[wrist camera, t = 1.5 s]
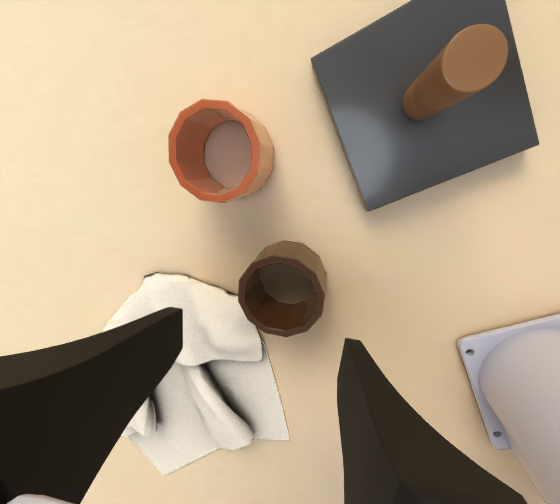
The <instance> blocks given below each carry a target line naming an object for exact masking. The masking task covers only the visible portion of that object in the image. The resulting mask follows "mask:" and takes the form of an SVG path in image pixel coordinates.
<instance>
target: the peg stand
mask: <svg viewBox="0 0 560 504" xmlns="http://www.w3.org/2000/svg"><path fill="white" fill-rule="evenodd" d="M311 63H312V67H313V70H314V73H315V75H316V78H317V81H318V84H319V86H320V89H321V92H322V94H323V97H324V100H325V102H326V105H327V108H328V110H329V113H330V116H331V118H332V121H333V124H334V126H335V129H336V132H337V134H338V137H339V140H340V142H341V145H342V148H343V151H344V153H345V156H346V159H347V161H348V164H349V167H350V169H351V172H352V175H353V177H354V180H355V183H356V185H357V188H358V191H359V193H360V196H361V199H362V201H363V204H364V207H365V209H366V210H367V211H371V210H373V209H376V208H379V207H381V206H384V205H386V204H389V203H391V202H394V201H396V200H399V199H401V198H404V197H407V196H409V195H412V194H414V193H417V192H419V191H422V190H424V189H427V188H430V187H432V186H435V185H437V184H440V183H442V182H445V181H447V180H450V179H453V178H455V177H458V176H460V175H463V174H465V173H468V172H470V171H473V170H476V169H478V168H481V167H483V166H486V165H488V164H491V163H493V162H496V161H499V160H501V159H504V158H506V157H509V156H511V155H514V154H516V153H519V152H521V151H524V150H527V149H529V148H532V147H534V146H537V145H539V140H538V136H537V132H536V128H535V124H534V119H533V115H532V111H531V107H530V103H529V98H528V94H527V90H526V86H525V82H524V77H523V73H522V69H521V65H520V61H519V56H518V52H517V48H516V44H515V39H514V35H513V31H512V27H511V23H510V18H509V14H508V10H507V6H506V2H505V0H411V1H410V2H408V3H406V4H404V5H403V6H401V7H399V8H397V9H396V10H394V11H392V12H391V13H389V14H387V15H385V16H384V17H382V18H380V19H378V20H377V21H375V22H373V23H371V24H370V25H368V26H366V27H364V28H363V29H361V30H359V31H357V32H356V33H354V34H352V35H351V36H349V37H347V38H345V39H344V40H342V41H340V42H338V43H337V44H335V45H333V46H331V47H330V48H328V49H326V50H324V51H323V52H321V53H319V54H317V55H316V56H314V57H312V58H311Z"/></svg>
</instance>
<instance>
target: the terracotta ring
mask: <svg viewBox="0 0 560 504" xmlns="http://www.w3.org/2000/svg"><path fill="white" fill-rule="evenodd" d="M227 120H233V121H239V122H241V123H242V124H243V126H244V128H245V130H246V133H247V135H248V137H249V140H250V142H251V144H252V157H251V169H250V171H249V172H248V174H247V175H246V177H245V178H244V180H243V181H242V183H241V185H240V186H239V187H237V188H235V189H225V188H223V187H222V186H221V185H220V184H218V183H217V182H216V181H214V180H213V179H212V178H211V177H210V174H209V172H208V170H207V168H206V166H205V164H204V143H205V141H206V140H207V138H208V136H209V134H210V132H211V131H212V129H213V128H214V127H216V126H218V125H220V124H222V123H223V122H225V121H227ZM168 137H169V163H170V165H171V167H172V169H173V171H174V173H175V175H176V177H177V179H178V181H179V183H180V185H181V186H182V187H184V188H185V189H186V190H188V191H189V192H190V193H192V194H193V195H194V196H196V197H197V198H198V199H199V200H204V201H211V202H219V203H225V202H228V201H232V200H235V199H238V198H242V197H244V196H246V195H249V194H251V193H253V192H255V191H257V190H259V189H261V187H262V186H263V184H264V183H265V181H266V180H267V178H268V177H269V175H270V174H271V172H272V167H273V156H274V148H273V145H272V143H271V140H270V138H269V136H268V133H267V131H266V128H265V127H264V126H262V125H261V124H260V123H259V122H257V121H256V120H255V119H253V118H252V117H251V116H249V115H248V114H247V113H245V112H244V111H242V110H241V109H239V108H237V107H236V106H234V105H233V104H231V103H230V102H228V101H222V100H208V99H201V100H199V101H198V102H196V103H194V104H193V105H191V106H189V107H188V108H186V109H184V110H183V111H181V112H180V113H179V115H178V117H177V119H176V121H175V123H174V125H173V127H172V129H171V131H170V133H169V136H168Z"/></svg>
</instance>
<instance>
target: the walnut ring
mask: <svg viewBox="0 0 560 504" xmlns="http://www.w3.org/2000/svg"><path fill="white" fill-rule="evenodd" d="M271 263H281V264H287V265H293V266H295V267H296V268H297V269H299V270H300V271H301V272H303V273H304V274H305V275H307V276H308V277H309V278H310V280H311V282H312V285H313V287H314V289H315V292H314V294H313V295H312V296H311V297H310V298H309V299H308V300H307V301H304V302H301V303H298V304H294V305H291V304H285V303H280V302H277V301H276V300H274V299H273V298H272V297H270V296H269V295H268V294H266V293H265V291H264V289H263V287H262V284H261V282H260V280H259V274H260V268H261V267H263V266H266V265H269V264H271ZM325 287H326V271H325V269H324V266H323V264H322V262H321V259H320V257H319V255H317V254H316V253H315V252H314V251H312V250H311V249H310V248H308V247H307V246H306V245H304V244H302V243H297V242H290V241H280V242H278V243H275V244H273V245H270V246H268V247H266V248H264V250H263V251H262V252H261V253H260V254H259V255H258V256H257V258H256V259H255V260H254V261H253V262H252V263H251V264H250V266H249V267H248V269H247V270H246V271H245V273H244V274H243V275H242V277H241V278H240V280H239V290H238V302H239V304H240V306H241V308H242V310H243V312H244V314H245V316H246V318H247V319H248V321H250V322H251V323H252V324H254V325H255V326H256V327H258V328H259V329H260V330H262V331H263V332H264V333H268V334H273V335H278V336H283V337H289V336H292V335H296V334H299V333H303V332H306V331H308V330H309V329H310V328H311V327H312V325H313V324H314V323H315V322H316V321H317V320H318V319H319V318H320V317H321V315H322V310H323V304H324V298H325Z"/></svg>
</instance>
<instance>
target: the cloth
mask: <svg viewBox="0 0 560 504" xmlns="http://www.w3.org/2000/svg"><path fill="white" fill-rule="evenodd" d="M167 307H175V308H181V309H183V349H182V350H181V352H180V354H179V356H178V357H177V359H176V361H175V362H174V364H173V366H172V367H171V369H170V370H169V371H168V373H167V374H166V375H165V377H164V378H163V379H162V381H161V382H160V383H159V384H158V386H157V387H156V388H155V389H154V391H153V392H152V393H151V395H150V396H149V397H148V398H147V400H146V401H145V402H144V403H143V405H142V406H141V407H140V409H139V410H138V411H137V412H136V414H135V415H134V417H133V418H132V419H131V421H130V422H129V424H128V425H127V427H126V428H125V430H124V431H123V433H122V435H121V436H120V437H126V436H128V437H129V438H130V439H131V440H132V441H133V442H134V443H135V444H136V445H137V446H138V447H139V449H140V450H141V451H142V452H143V453H144V454H145V455H146V456H147V457H148V458H149V460H150V461H151V462H152V463H153V464H154V465H155V466H156V467H157V468H158V469H159V470H160V471H161V472H162V474H163V475H166V474H168V473H170V472H173V471H175V470H177V469H179V468H181V467H183V466H185V465H187V464H189V463H191V462H193V461H195V460H197V459H199V458H201V457H203V456H204V455H207V454H209V453H211V452H213V451H215V450H217V449H219V448H224V449H229V450H237V449H239V448H242V447H244V446H247V445H249V444H250V443H251V440H252V439H269V440H289V439H290V438H289V433H288V429H287V424H286V420H285V416H284V411H283V407H282V403H281V399H280V395H279V390H278V386H277V383H276V380H275V377H274V373H273V370H272V367H271V363H270V359H269V356H268V352H267V349H266V345H265V343H264V342H263V341H262V340H261V338H260V337H259V334H258V332H257V329H256V326H255V325H254V324H252V323H251V322H250V321H248V319H247V318H246V316H245V314H244V312H243V310H242V308H241V306H240V304H239V302H238V295H236V294H233V293H231V292H229V291H226V290H224V289H222V288H220V287H218V286H214V285H209V284H205V283H203V282H201V281H198V280H196V279H194V278H192V277H190V276H188V275H183V274H170V275H165V274H162V273H158V272H156V273H153V274H150V275H146V276H144V280H143V283H142V286H141V287H140V289H139V290H137V291H136V292H135V293H134V294H132V295H131V296H130V297H128V298H127V300H126V301H125V303H124V304H123V305H122V307H121V308H120V309H119V310H117V311H116V312H115V314H114V315H113V317H112V318H111V319H110V321H109V322H108V324H107V325H106V326H105V327H104V329H103V330H102V332H105V331H107V330H110V329H113V328H116V327H118V326H121V325H124V324H126V323H129V322H131V321H134V320H136V319H139V318H141V317H144V316H146V315H149V314H151V313H154V312H156V311H159V310H161V309H164V308H167Z"/></svg>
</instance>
